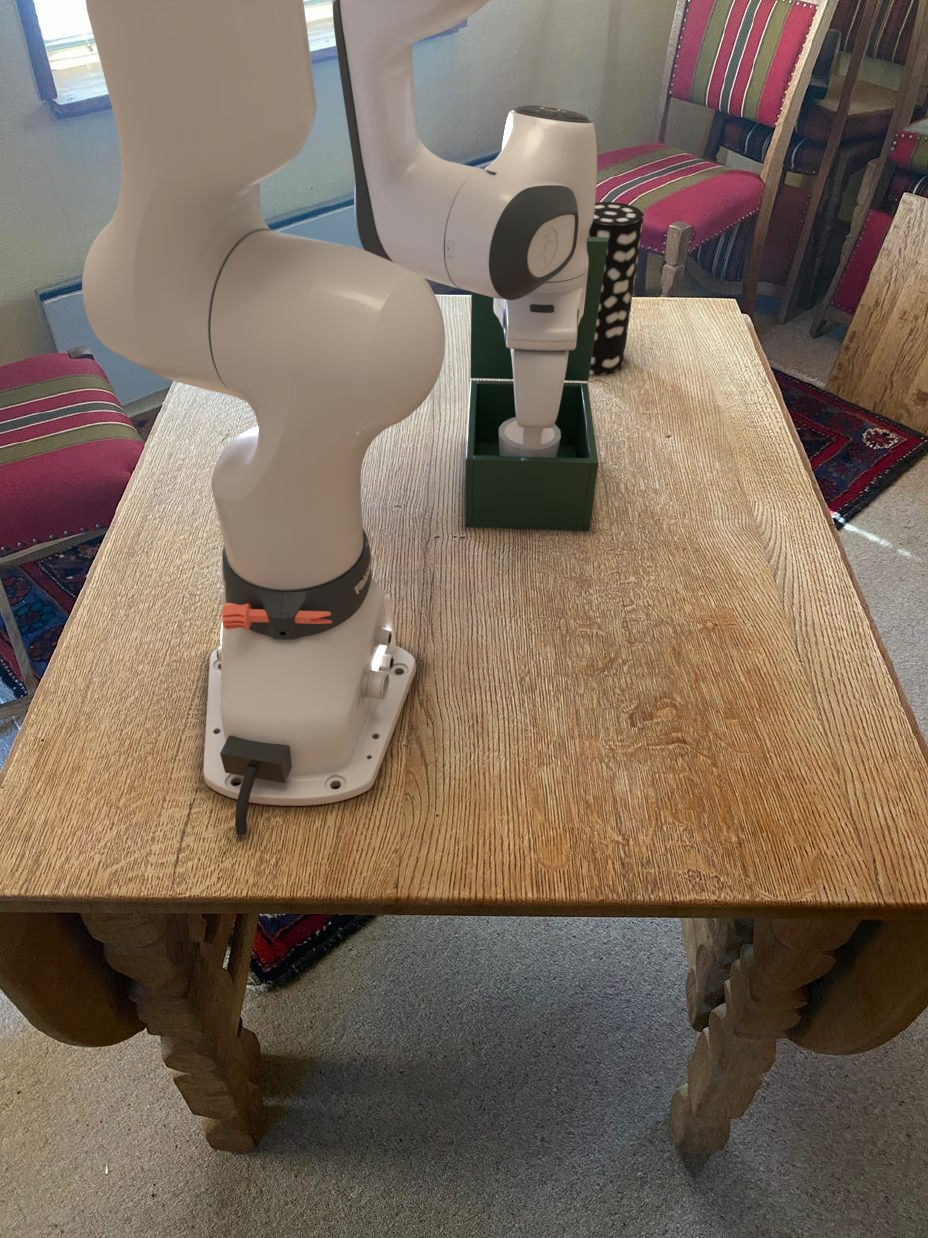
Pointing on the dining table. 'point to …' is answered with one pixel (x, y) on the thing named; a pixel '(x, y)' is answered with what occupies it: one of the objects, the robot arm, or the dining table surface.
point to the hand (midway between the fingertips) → (530, 420)
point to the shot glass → (514, 441)
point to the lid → (490, 341)
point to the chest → (529, 465)
